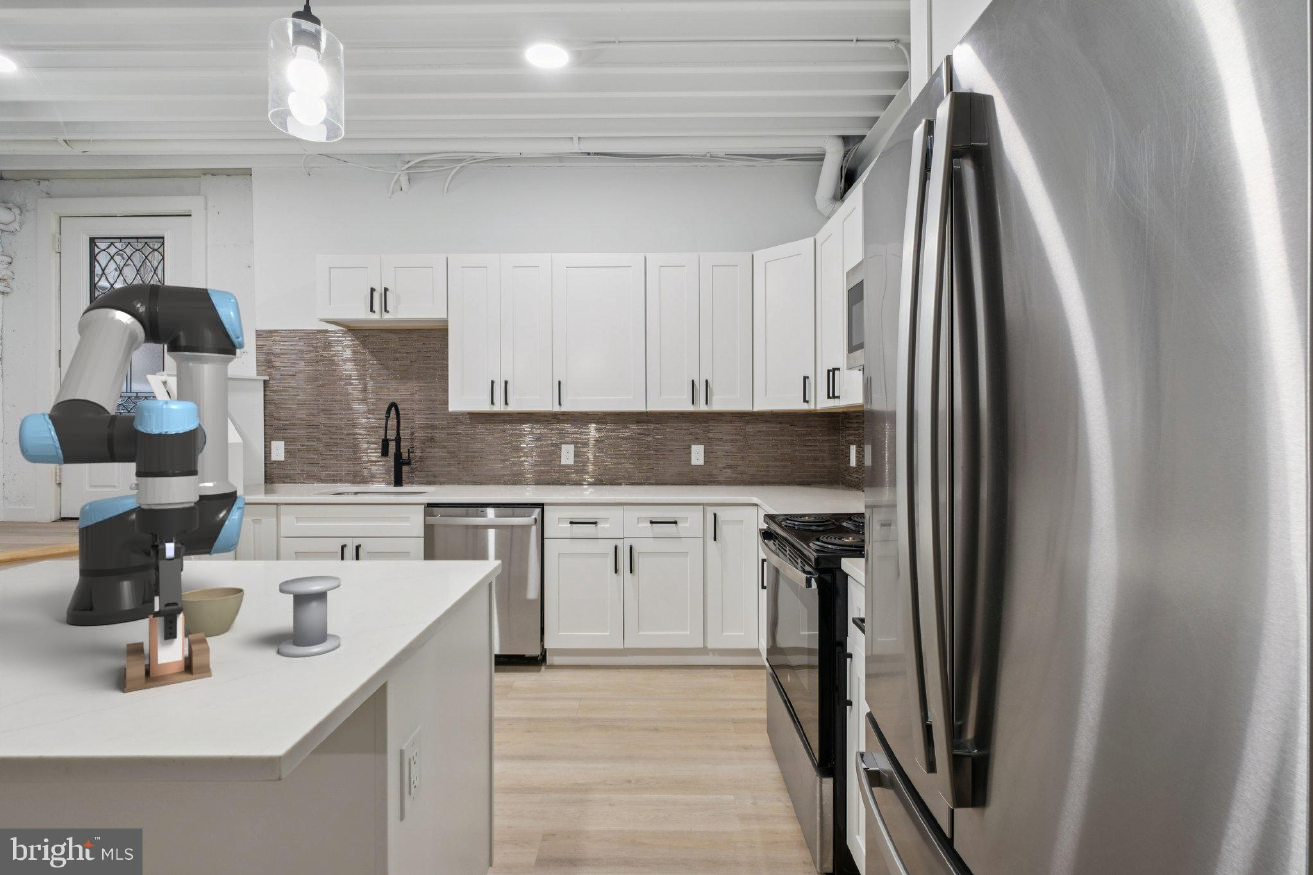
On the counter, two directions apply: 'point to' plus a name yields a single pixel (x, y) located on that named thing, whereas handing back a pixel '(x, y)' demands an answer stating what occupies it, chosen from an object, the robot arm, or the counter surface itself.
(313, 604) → the bobbin
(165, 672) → the peach rectangular block
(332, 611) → the counter surface
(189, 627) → the flower pot
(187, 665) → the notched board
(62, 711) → the counter surface
